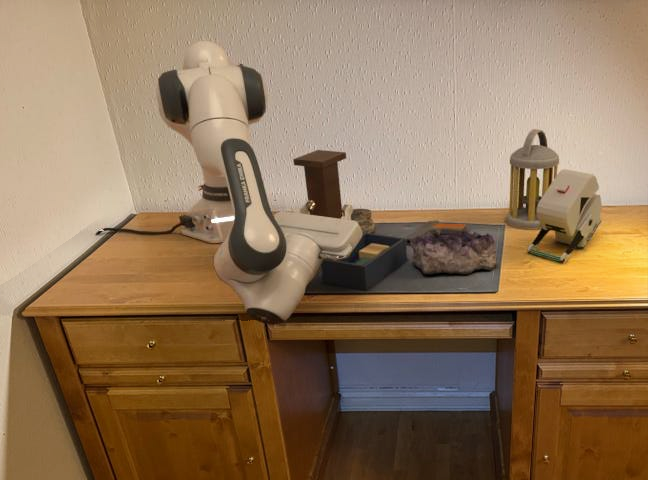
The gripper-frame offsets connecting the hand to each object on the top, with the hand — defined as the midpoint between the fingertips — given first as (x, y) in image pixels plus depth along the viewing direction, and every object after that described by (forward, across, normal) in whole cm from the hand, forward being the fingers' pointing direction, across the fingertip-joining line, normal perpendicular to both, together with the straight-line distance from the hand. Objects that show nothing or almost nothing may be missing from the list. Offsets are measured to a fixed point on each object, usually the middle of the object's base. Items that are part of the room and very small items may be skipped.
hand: (330, 204), depth 137 cm
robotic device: (+29, -40, +40) cm, 63 cm away
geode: (+9, -18, +28) cm, 35 cm away
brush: (+1, 0, +22) cm, 22 cm away
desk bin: (+1, 0, +23) cm, 23 cm away
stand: (+5, +14, +26) cm, 30 cm away
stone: (+17, +14, +33) cm, 40 cm away
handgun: (+25, -6, +37) cm, 45 cm away
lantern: (+44, -25, +48) cm, 70 cm away
